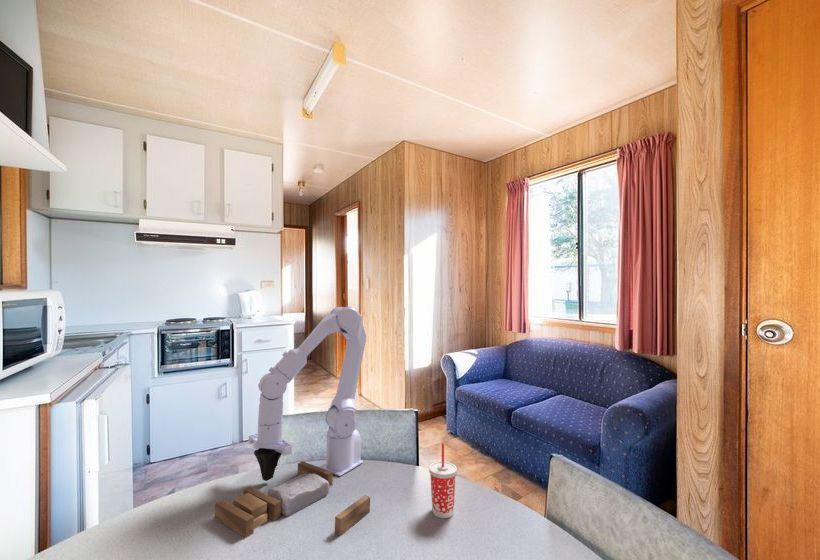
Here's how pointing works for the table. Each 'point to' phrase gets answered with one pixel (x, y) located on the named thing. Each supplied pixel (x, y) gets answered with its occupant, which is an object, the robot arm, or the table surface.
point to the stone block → (299, 492)
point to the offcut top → (251, 505)
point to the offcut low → (260, 520)
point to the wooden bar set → (245, 521)
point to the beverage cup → (442, 487)
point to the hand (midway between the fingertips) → (267, 478)
